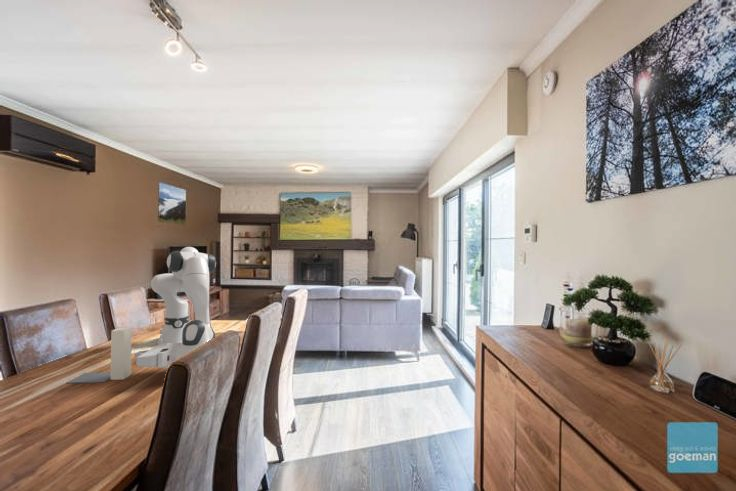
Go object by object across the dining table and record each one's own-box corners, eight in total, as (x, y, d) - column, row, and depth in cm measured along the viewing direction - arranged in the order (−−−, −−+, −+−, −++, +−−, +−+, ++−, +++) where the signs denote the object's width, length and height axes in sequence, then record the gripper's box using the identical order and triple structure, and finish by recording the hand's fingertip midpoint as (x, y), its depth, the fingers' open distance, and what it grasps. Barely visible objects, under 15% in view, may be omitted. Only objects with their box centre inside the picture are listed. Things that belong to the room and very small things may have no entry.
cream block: (110, 379, 136) (111, 330, 136) (118, 375, 141) (119, 327, 141) (123, 379, 137) (124, 330, 137) (130, 374, 142) (131, 327, 142)
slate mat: (66, 383, 132) (66, 382, 132) (84, 373, 142) (84, 372, 142) (103, 382, 134) (103, 381, 134) (119, 372, 144) (119, 372, 144)
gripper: (182, 339, 152) (149, 339, 150) (160, 353, 132) (122, 354, 130) (182, 353, 152) (149, 353, 150) (160, 369, 132) (121, 370, 130)
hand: (136, 354), depth 140 cm, fingers closed
